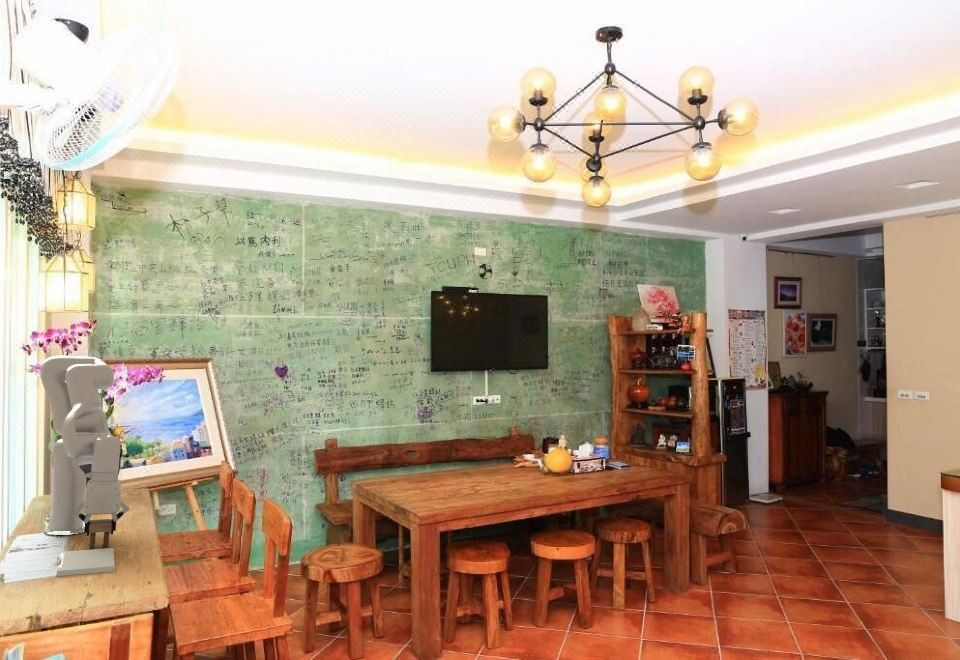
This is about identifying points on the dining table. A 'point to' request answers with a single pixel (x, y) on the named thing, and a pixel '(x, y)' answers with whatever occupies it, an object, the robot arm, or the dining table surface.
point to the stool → (100, 526)
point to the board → (87, 562)
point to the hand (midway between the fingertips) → (99, 533)
